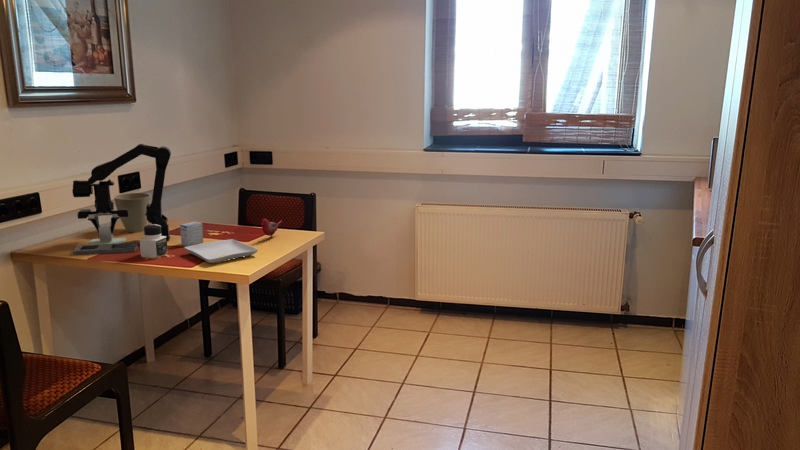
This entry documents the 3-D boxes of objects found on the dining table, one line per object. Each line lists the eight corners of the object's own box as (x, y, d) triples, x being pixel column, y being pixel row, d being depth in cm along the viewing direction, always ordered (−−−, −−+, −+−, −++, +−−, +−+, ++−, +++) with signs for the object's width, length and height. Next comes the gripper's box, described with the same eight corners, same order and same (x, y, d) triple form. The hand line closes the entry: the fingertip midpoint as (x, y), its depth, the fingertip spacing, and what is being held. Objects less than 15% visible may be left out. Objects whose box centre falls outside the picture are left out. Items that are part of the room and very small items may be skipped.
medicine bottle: (157, 258, 224) (155, 228, 222) (140, 257, 226) (138, 226, 223) (168, 253, 231) (166, 223, 228) (151, 252, 233) (149, 222, 230)
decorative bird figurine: (258, 242, 250) (257, 219, 248) (280, 233, 266) (279, 211, 264) (264, 243, 249) (263, 220, 247) (285, 233, 265) (285, 212, 263)
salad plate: (259, 257, 230) (259, 248, 230) (209, 267, 216) (208, 258, 215) (232, 246, 245) (232, 238, 244) (183, 255, 231) (182, 246, 230)
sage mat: (126, 239, 251) (126, 237, 251) (122, 245, 242) (121, 243, 241) (92, 240, 247) (92, 239, 247) (87, 246, 238) (86, 245, 238)
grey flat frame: (138, 245, 241) (137, 242, 241) (134, 251, 232) (134, 248, 232) (78, 248, 235) (78, 245, 235) (72, 255, 227) (72, 251, 226)
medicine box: (196, 240, 250) (195, 221, 248) (203, 242, 248) (202, 222, 246) (181, 245, 244) (179, 224, 242) (188, 246, 242) (187, 226, 240)
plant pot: (116, 228, 268) (112, 194, 265) (151, 225, 275) (148, 191, 271) (118, 236, 255) (114, 199, 252) (154, 232, 262) (152, 197, 259)
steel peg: (113, 237, 247) (112, 224, 245) (111, 240, 243) (110, 226, 241) (102, 238, 246) (100, 224, 244) (99, 241, 241) (98, 226, 240)
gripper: (130, 192, 250) (133, 228, 254) (81, 193, 245) (85, 230, 249) (126, 197, 240) (129, 234, 243) (75, 198, 235) (79, 236, 238)
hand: (106, 233), depth 244 cm, fingers closed on steel peg, 4 cm apart
